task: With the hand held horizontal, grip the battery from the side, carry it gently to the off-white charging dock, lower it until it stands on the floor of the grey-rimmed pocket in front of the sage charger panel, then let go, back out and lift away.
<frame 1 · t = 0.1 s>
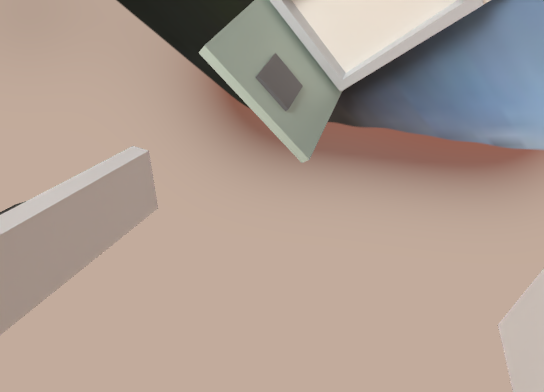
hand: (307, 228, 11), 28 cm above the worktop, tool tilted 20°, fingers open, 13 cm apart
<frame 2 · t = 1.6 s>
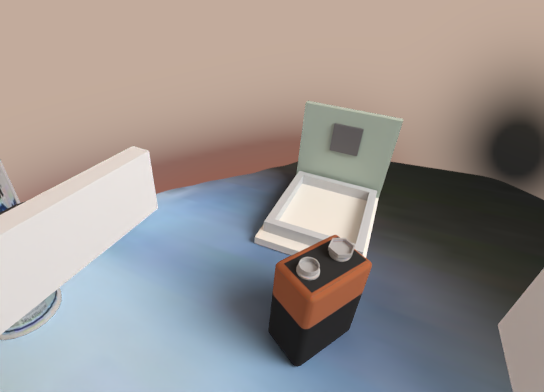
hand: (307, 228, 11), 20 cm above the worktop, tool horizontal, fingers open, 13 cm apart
battery: (308, 332, 29), on the worktop
charging dock: (322, 219, 43), on the worktop
spray can: (24, 310, 29), on the worktop
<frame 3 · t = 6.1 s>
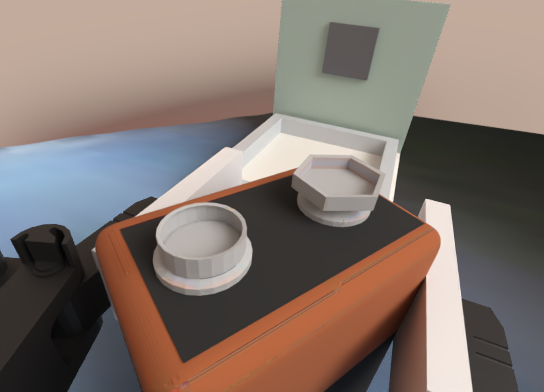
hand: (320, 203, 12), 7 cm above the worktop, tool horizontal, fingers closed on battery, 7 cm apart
charging dock: (309, 181, 26), on the worktop
when the fingers open (8 cm above the worktop, at t = 14.1 s): battery stays where it is, resting on charging dock.
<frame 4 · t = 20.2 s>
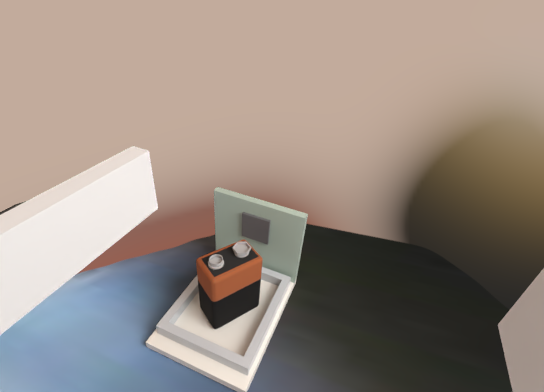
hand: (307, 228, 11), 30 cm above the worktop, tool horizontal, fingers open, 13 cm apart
battery: (229, 307, 42), point 1 cm above the worktop, touching charging dock
charging dock: (229, 311, 42), on the worktop
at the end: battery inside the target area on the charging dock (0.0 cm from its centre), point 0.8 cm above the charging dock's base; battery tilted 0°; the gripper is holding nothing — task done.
